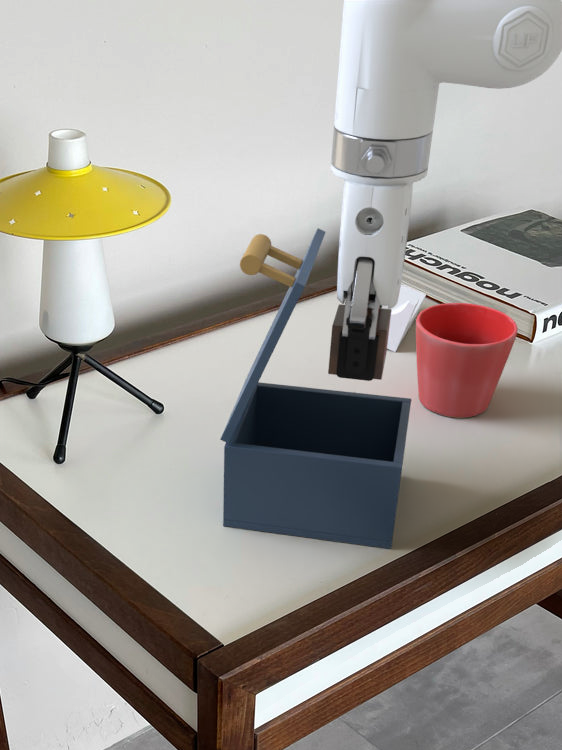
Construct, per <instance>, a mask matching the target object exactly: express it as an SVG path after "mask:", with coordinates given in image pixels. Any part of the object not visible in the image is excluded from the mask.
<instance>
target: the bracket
mask: <svg viewBox="0 0 562 750" xmlns="http://www.w3.org/2000/svg"><path fill="white" fill-rule="evenodd" d="M426 296H427V294H426V293H424V292H422V291H419V290H417V289H414V288H412V287H411V286H407V285H405V284H403V283H401V287H400V292H399V297H398V302H397V304H396V305H395V306H394V307H393V308H391V310H392V311H391V319H390V327H389V335H388V344H387V350H389V351H391V352H394V353H396V352H397V350H398V349H399V347H400V345H401V343H402V341H403V340H404V338H405V337H406V334H407V333H408V331H409V330H410V328H411V326H412V325H413V323H414V320H416V318H417V316H418V315H419V313H420V310H421V308H422V306H423V303H424V301H425V299H426ZM382 308H383V309H389V308H388V306H382Z"/></svg>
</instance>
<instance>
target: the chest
mask: <svg viewBox="0 0 562 750" xmlns="http://www.w3.org/2000/svg"><path fill="white" fill-rule="evenodd" d="M411 405H412V398H408V397H399V396H390V395H383V394H382V395H381V394H370V393H363V392H353V391H344V390H336V389H335V390H333V389H324V388H316V387H306V386H296V385H287V384H278V383H269V382H261V381H259V382H258V384H257V386H256V388H255V390H254V392H253V394H252V396H251V398H250V400H249V402H248V404H247V406H246V408H245V410H244V412H243V414H242V416H241V419H240V421H239V423H238V425H237V427H236V429H235V431H234V433H233V435H232V437H231V439H230V441H229V443H226V442H225V443H224V446H223V501H222V502H223V508H222V510H223V511H222V512H223V513H222V516H223V517H222V526H223V527H228V528H233V529H242V530H248V531H257V532H265V533H270V534H271V533H272V534H278V535H285V536H293V537H301V538H307V539H316V540H323V541H328V542H329V541H330V542H336V543H337V542H338V543H345V544H351V545H359V546H367V547H374V548H381V549H388V550H389V549H390V550H391V549H392V544H393V538H394V532H395V531H394V530H395V523H396V515H397V509H398V502H399V501H398V500H399V494H400V486H401V479H402V473H403V464H404V457H405V449H406V442H407V436H408V435H407V434H408V426H409V419H410V412H411Z"/></svg>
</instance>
